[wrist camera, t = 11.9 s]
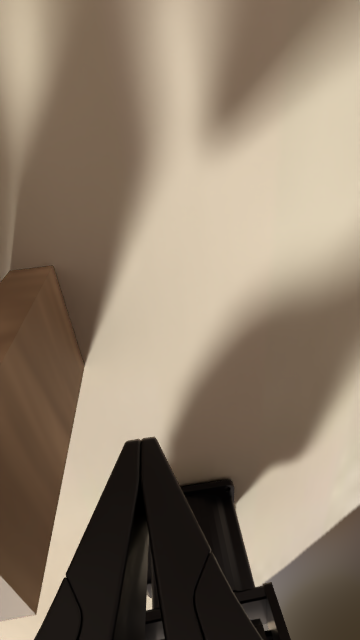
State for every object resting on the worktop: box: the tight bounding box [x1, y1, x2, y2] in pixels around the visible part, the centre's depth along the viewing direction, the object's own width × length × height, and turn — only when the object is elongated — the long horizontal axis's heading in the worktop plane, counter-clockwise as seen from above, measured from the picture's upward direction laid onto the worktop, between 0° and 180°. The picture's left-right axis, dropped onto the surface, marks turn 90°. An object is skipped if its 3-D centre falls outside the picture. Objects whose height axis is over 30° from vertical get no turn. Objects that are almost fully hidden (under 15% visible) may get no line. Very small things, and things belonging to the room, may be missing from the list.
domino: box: [0, 266, 84, 621], centre depth 11 cm, size 2×6×10 cm, turn 5°
